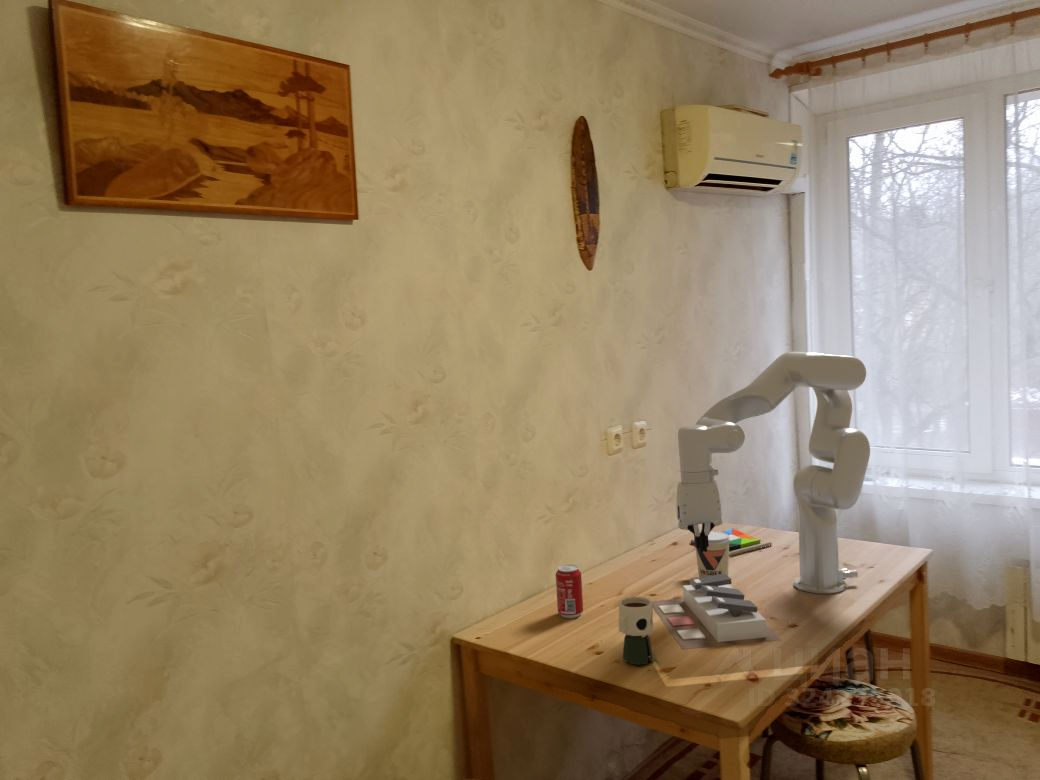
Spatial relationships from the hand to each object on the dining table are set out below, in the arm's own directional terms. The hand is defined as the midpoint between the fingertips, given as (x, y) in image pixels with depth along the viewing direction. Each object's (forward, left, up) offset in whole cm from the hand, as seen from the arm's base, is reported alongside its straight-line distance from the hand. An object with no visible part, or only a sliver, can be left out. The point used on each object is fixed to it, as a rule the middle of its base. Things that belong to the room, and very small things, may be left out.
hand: (702, 550), depth 199 cm
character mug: (+22, +24, -16) cm, 36 cm away
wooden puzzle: (-25, -52, -16) cm, 60 cm away
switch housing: (-2, +8, -14) cm, 16 cm away
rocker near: (-2, +16, -10) cm, 19 cm away
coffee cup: (-10, -23, -16) cm, 29 cm away
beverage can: (+32, -6, -16) cm, 36 cm away
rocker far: (-2, 0, -10) cm, 10 cm away
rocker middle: (-2, +8, -10) cm, 13 cm away
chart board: (+1, +8, -15) cm, 17 cm away
